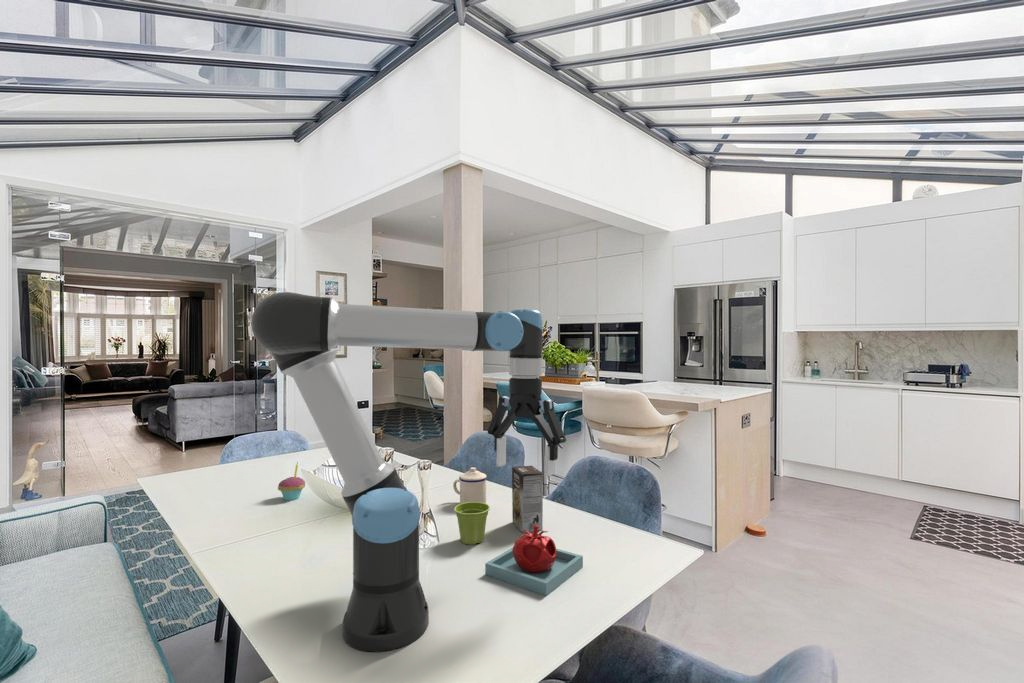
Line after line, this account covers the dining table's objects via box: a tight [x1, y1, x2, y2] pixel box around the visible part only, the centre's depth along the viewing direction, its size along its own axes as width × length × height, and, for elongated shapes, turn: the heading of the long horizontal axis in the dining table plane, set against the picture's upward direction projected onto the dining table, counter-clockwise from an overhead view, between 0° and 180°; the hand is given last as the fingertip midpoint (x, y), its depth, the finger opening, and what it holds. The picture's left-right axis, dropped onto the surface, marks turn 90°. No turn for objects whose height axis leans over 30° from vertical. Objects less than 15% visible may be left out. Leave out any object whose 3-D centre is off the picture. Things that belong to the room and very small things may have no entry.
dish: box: [484, 547, 584, 597], centre depth 109 cm, size 16×16×2 cm
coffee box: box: [511, 465, 544, 533], centre depth 137 cm, size 9×6×16 cm
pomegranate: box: [512, 525, 557, 573], centre depth 109 cm, size 10×10×9 cm
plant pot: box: [453, 502, 491, 546], centre depth 126 cm, size 9×9×9 cm
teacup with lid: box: [452, 467, 488, 504], centre depth 157 cm, size 12×9×12 cm
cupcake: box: [277, 461, 306, 501], centre depth 163 cm, size 9×8×12 cm
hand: (524, 470), depth 109 cm, fingers open, 13 cm apart
